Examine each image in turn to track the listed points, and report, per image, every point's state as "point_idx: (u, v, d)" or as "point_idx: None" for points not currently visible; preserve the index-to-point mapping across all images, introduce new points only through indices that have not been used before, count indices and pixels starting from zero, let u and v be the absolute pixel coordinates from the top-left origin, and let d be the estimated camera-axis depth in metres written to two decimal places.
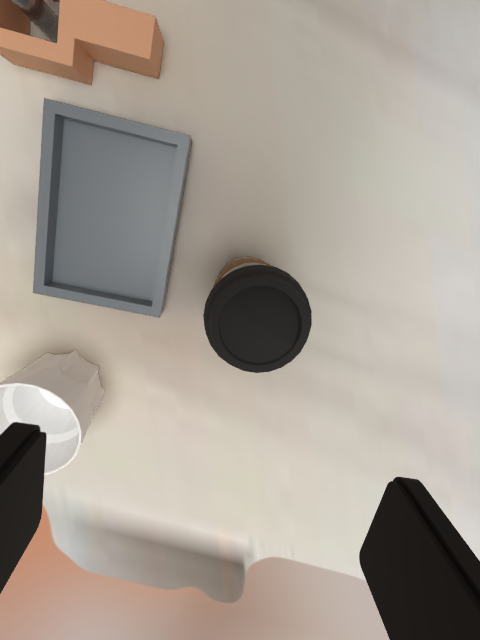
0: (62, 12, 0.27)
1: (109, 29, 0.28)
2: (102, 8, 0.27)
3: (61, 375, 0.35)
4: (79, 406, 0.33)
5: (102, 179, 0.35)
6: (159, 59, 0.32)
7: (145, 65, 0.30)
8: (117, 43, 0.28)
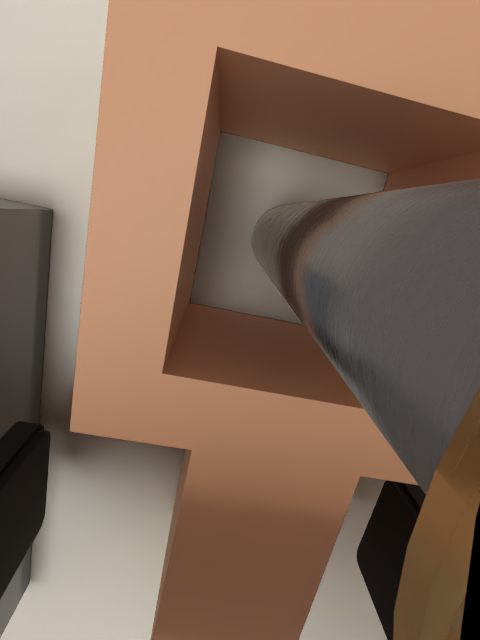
0: (292, 409, 0.06)
1: (232, 572, 0.07)
2: (303, 554, 0.07)
3: None
4: None
5: None
6: None
7: (162, 573, 0.09)
8: (185, 596, 0.07)
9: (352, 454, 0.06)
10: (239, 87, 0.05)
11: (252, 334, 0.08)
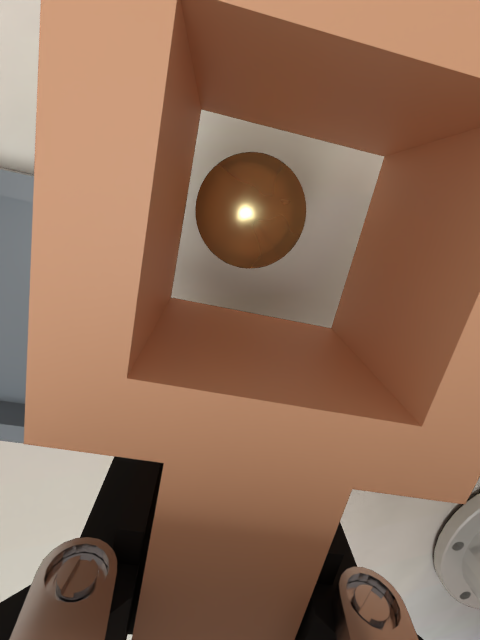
0: (275, 417, 0.05)
1: (213, 593, 0.06)
2: (290, 573, 0.06)
3: None
4: None
5: None
6: None
7: None
8: (161, 618, 0.06)
9: (343, 465, 0.05)
10: (212, 48, 0.05)
11: (236, 331, 0.08)
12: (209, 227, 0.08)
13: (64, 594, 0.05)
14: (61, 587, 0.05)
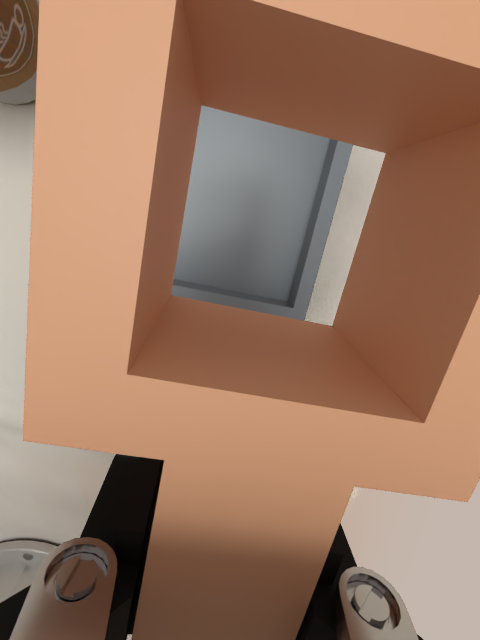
0: (276, 414, 0.05)
1: (213, 592, 0.06)
2: (292, 571, 0.06)
3: None
4: None
5: (249, 229, 0.25)
6: None
7: None
8: (161, 616, 0.06)
9: (345, 462, 0.05)
10: (213, 41, 0.05)
11: (237, 329, 0.08)
12: None
13: (64, 594, 0.05)
14: (61, 587, 0.05)
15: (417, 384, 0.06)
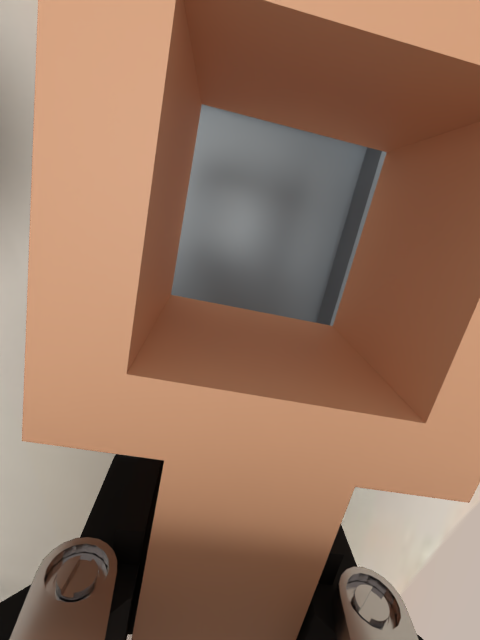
0: (277, 414, 0.05)
1: (213, 592, 0.06)
2: (292, 572, 0.06)
3: None
4: None
5: None
6: None
7: None
8: (162, 618, 0.06)
9: (346, 463, 0.05)
10: (214, 39, 0.05)
11: (237, 328, 0.08)
12: None
13: (64, 594, 0.05)
14: (61, 587, 0.05)
15: (418, 384, 0.06)
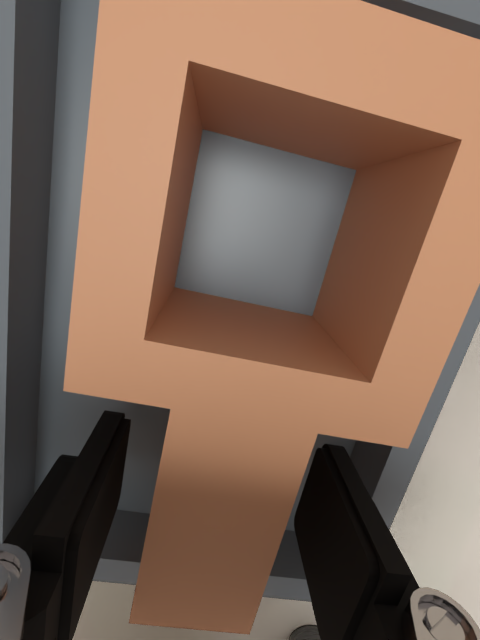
0: (257, 373, 0.07)
1: (207, 520, 0.08)
2: (270, 504, 0.08)
3: None
4: None
5: None
6: None
7: None
8: (165, 542, 0.08)
9: (310, 414, 0.07)
10: (212, 92, 0.06)
11: (229, 314, 0.09)
12: None
13: None
14: None
15: (368, 354, 0.07)
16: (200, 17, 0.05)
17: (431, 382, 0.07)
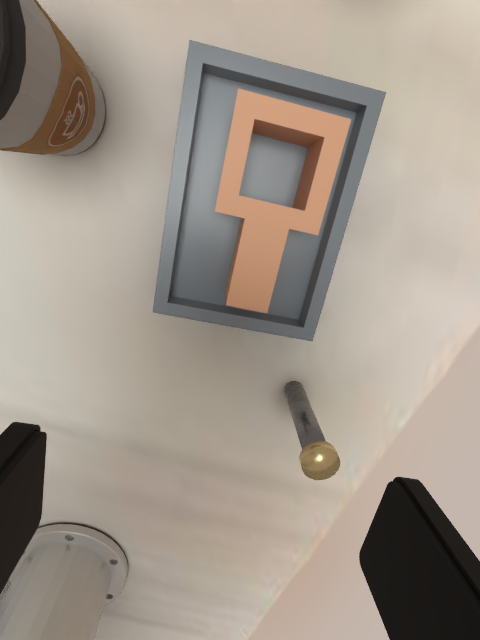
0: (270, 207, 0.22)
1: (254, 261, 0.24)
2: (274, 255, 0.24)
3: None
4: None
5: None
6: None
7: (227, 288, 0.26)
8: (240, 269, 0.24)
9: (286, 221, 0.23)
10: (258, 124, 0.22)
11: None
12: (317, 452, 0.23)
13: None
14: None
15: (304, 204, 0.23)
16: (257, 108, 0.21)
17: (323, 211, 0.23)
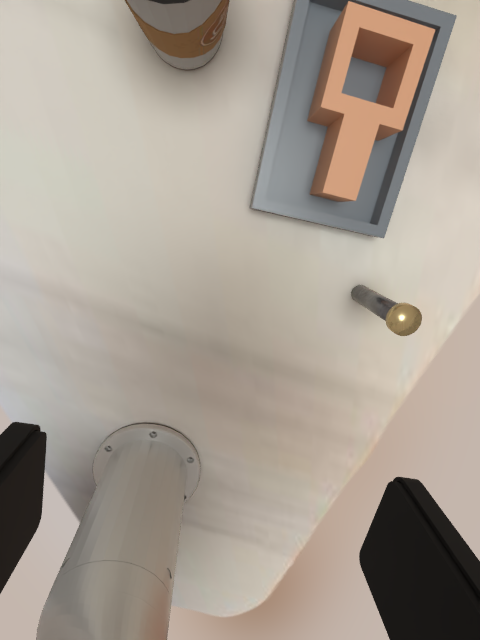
0: (366, 104, 0.28)
1: (349, 152, 0.29)
2: (365, 147, 0.28)
3: None
4: None
5: None
6: (324, 197, 0.33)
7: (319, 184, 0.31)
8: (337, 160, 0.29)
9: (378, 117, 0.28)
10: (357, 35, 0.27)
11: None
12: (403, 309, 0.28)
13: None
14: None
15: (392, 104, 0.28)
16: (362, 18, 0.26)
17: (408, 109, 0.28)
